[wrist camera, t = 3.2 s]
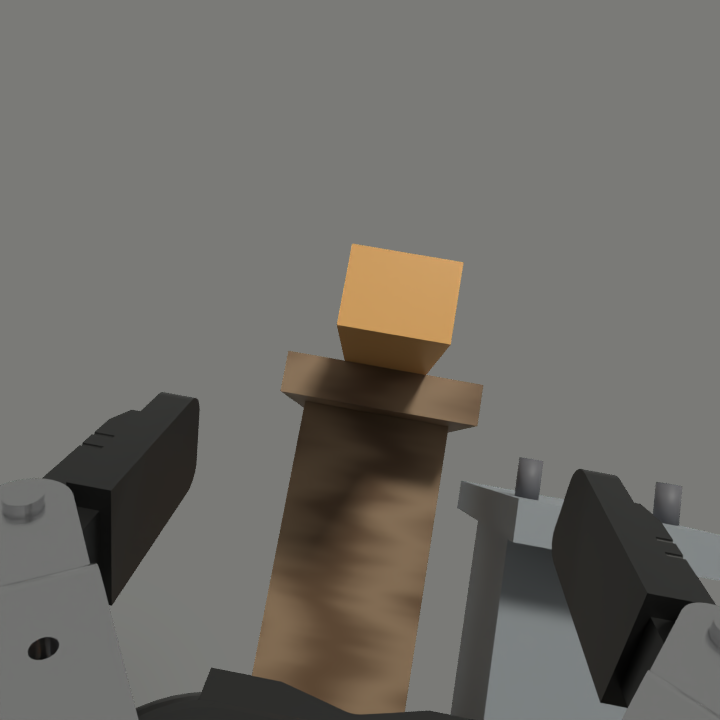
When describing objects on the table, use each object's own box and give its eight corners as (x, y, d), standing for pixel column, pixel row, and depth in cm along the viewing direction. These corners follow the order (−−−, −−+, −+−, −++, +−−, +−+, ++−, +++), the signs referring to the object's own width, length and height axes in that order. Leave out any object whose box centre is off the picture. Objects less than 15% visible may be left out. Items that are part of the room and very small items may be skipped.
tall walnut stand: (366, 876, 38) (439, 409, 43) (368, 1176, 22) (483, 385, 27) (227, 847, 39) (316, 387, 44) (133, 1122, 23) (288, 351, 28)
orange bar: (405, 400, 41) (412, 360, 42) (450, 344, 20) (463, 262, 20) (351, 390, 41) (358, 351, 42) (337, 324, 20) (352, 243, 20)
